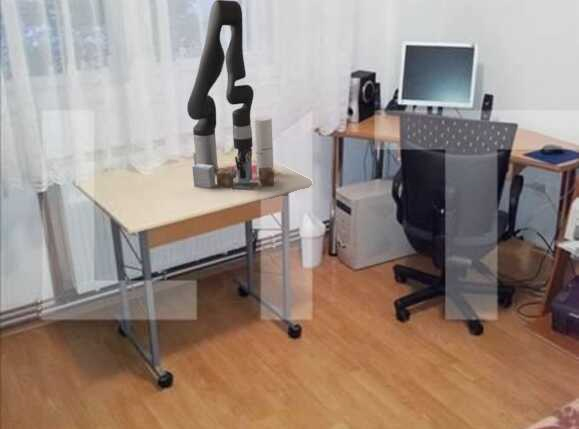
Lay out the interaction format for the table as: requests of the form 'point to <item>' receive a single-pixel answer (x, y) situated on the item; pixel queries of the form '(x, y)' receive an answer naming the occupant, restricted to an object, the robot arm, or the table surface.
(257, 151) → the cylindrical container
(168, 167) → the table surface
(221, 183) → the bearing block
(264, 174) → the bearing block
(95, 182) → the table surface
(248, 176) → the block
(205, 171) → the medicine box
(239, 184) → the pad
